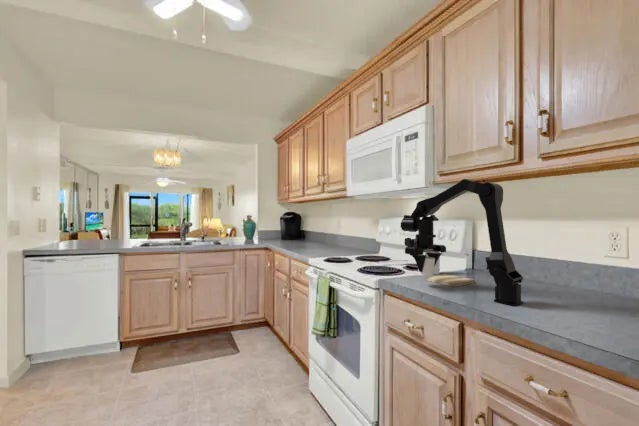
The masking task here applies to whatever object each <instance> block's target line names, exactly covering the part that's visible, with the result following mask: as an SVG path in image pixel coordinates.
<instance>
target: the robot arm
mask: <svg viewBox="0 0 639 426" xmlns="http://www.w3.org/2000/svg"><path fill="white" fill-rule="evenodd" d="M467 192H470V193H473V194H476V195H477V196H478V198H479V201H480V203H481V205H482V207H483V208H484V210H485V216H486V223H487V230H488V237H489V245H490V250H491V251H490V255H489V256H486V257H485V262H486V271H488V273H489V275H490V276H492V277H493V280H494V283H495V286H494V299H493V302H496V303H499V304H504V305H509V306H515V307H516V306H519V305H521V304H524V301H523V300H522V282H523V279H524V276H522V274H521V273H520V272H519V271H518V270H516V266H515V264H514V261H513V260H514V259H513V258H512V256H511V255H510V253H509V251H508V248H507V244H506V243H507V242H506V235H505V229H504V228H505V227H504V222H503V216H502V204H503V201H504V188H503V187H502V185H501V184H498V183H495V182H487V181H486V182H478V181H474V180H472V179H469V178H467V179H466V178H464V179H461V180H460V181H459V182H458V183H455V184H454V185H452V186H450V187H449V188H446V189H445V190H444V191H442V192H440V193H438V194H437V195H435V196H433V197H429V198H424V199H423V200H420V201H418V202H417V203H416V206H415V209H414V210H413V211H412V213H411V214H410V215H407V214H405V215H403V218H402V219H401V221H400V228H401V230H402V231H403V232H418V234H415V238H411V237H405V239H404V246H405V248H404V254H406V255H409V256H411V257H413V259H414V261H415V264H416V266H417V270H418V269H419V272H422V270H423V267H424V262H425V258H426V255H425V254H424V253H425V252H426V254H427V255H428V257H433V258H435V263H434V266H435V264H436V262H437V261H438V259H439V257H441V255H443V253H446V252H447V246H446V245H445V244H438V245H436V244H437V243H434V238H436V236H437V235H436V234H434V222H439V220H440V219H439V218H438V217H437V216H436V215H435V213H437V212H438V211H439V210H441V207H442V206H444V205H445V204H447V203H449V202H452V200H455V199H457V198H458V197H460V196H462V195H464V194H465V193H467ZM433 243H434V245H433ZM439 251H440V253H439Z"/></svg>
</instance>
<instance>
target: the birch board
mask: <svg viewBox="0 0 639 426" xmlns="http://www.w3.org/2000/svg"><path fill="white" fill-rule="evenodd" d="M425 280H426V281H428V282H431V281H432V283H436V284H440V285H445V286H451V287H455V288H456V287H459V286H466V285H470V284H474V283H476V279H473V278H468V277H462V276H457V275H451V274H446V273H445V274H438V275H433V276H426V277H425Z"/></svg>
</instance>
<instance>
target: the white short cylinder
mask: <svg viewBox="0 0 639 426" xmlns="http://www.w3.org/2000/svg"><path fill="white" fill-rule="evenodd" d="M434 263H435V258H433V257H426V258H425V262H424V267H423V270H422V272H419V269H418V268H417V273H418V276H422V277H433V276H434V275H435V274H434Z"/></svg>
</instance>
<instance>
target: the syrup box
mask: <svg viewBox="0 0 639 426" xmlns="http://www.w3.org/2000/svg"><path fill="white" fill-rule="evenodd" d="M434 244H436V245H439V244H437V243H434V242H433V245H434ZM439 253H441V252H440V251H439ZM424 255H426V257H428V255H427V254H426V252H424ZM440 257H441V256H440ZM440 257H439V259H438V261H437V262H436V264H435V266H434V274H433V275H440V268H441V267H440V266H441V265H440V262H441V261H440V260H441V259H440Z"/></svg>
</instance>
